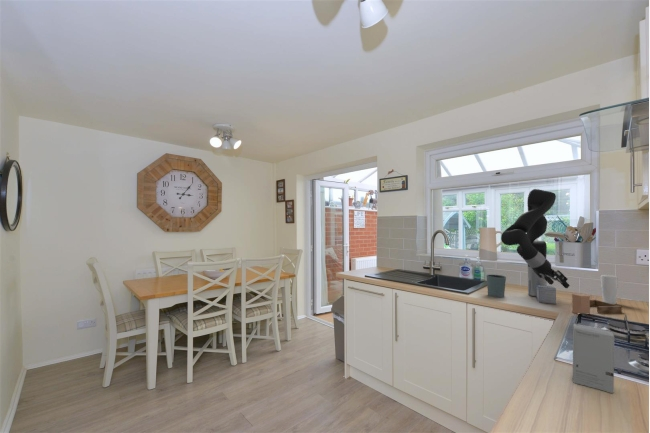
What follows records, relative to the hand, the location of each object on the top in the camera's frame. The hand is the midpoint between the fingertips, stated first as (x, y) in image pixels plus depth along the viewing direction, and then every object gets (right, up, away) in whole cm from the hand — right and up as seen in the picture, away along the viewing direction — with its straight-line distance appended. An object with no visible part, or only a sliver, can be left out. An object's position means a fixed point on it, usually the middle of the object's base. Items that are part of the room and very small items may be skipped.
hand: (559, 285), depth 140 cm
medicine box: (+10, -15, +21) cm, 28 cm away
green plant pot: (-10, -15, +36) cm, 40 cm away
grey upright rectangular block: (-41, -12, -62) cm, 75 cm away
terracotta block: (+11, -14, 0) cm, 18 cm away
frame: (+25, -14, +8) cm, 30 cm away
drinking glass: (+43, -15, +19) cm, 49 cm away
